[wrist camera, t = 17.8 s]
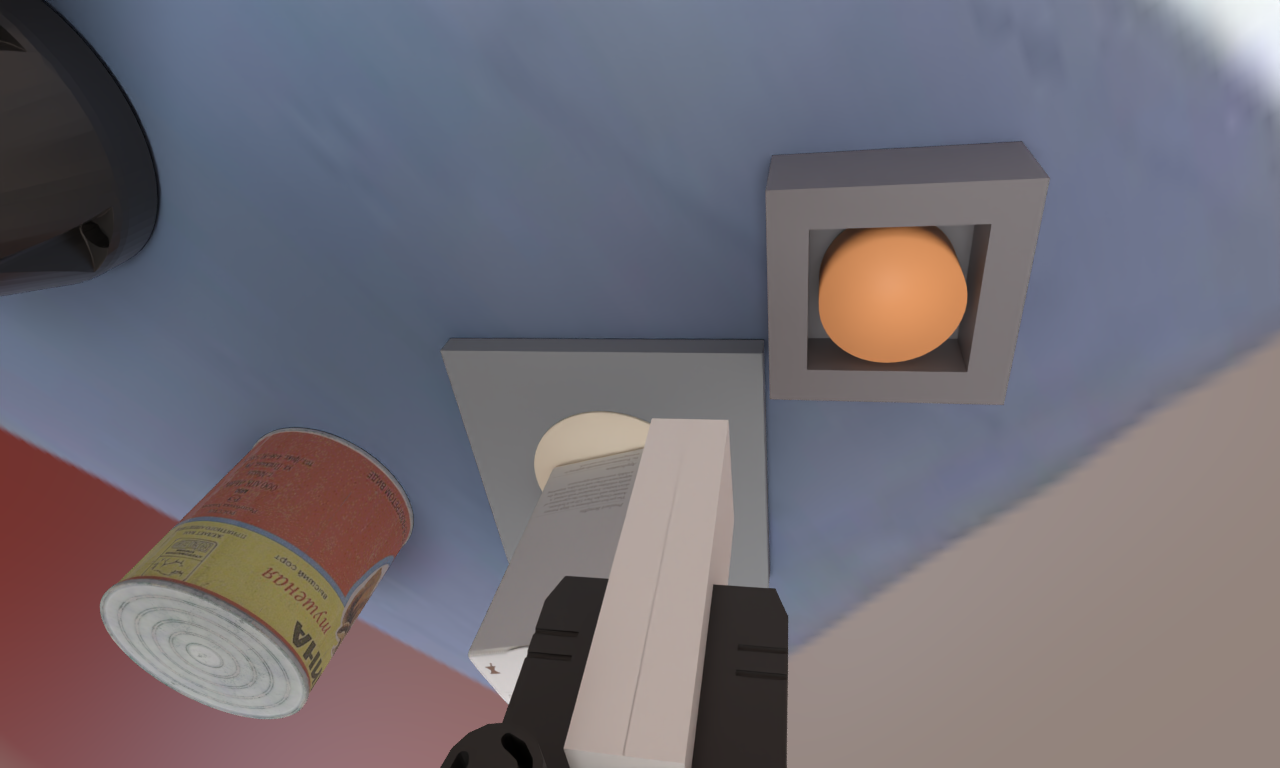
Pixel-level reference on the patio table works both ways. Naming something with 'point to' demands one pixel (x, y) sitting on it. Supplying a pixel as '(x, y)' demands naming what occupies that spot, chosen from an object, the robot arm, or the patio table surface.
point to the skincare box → (554, 557)
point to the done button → (891, 292)
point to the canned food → (263, 575)
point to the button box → (903, 197)
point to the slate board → (609, 418)
